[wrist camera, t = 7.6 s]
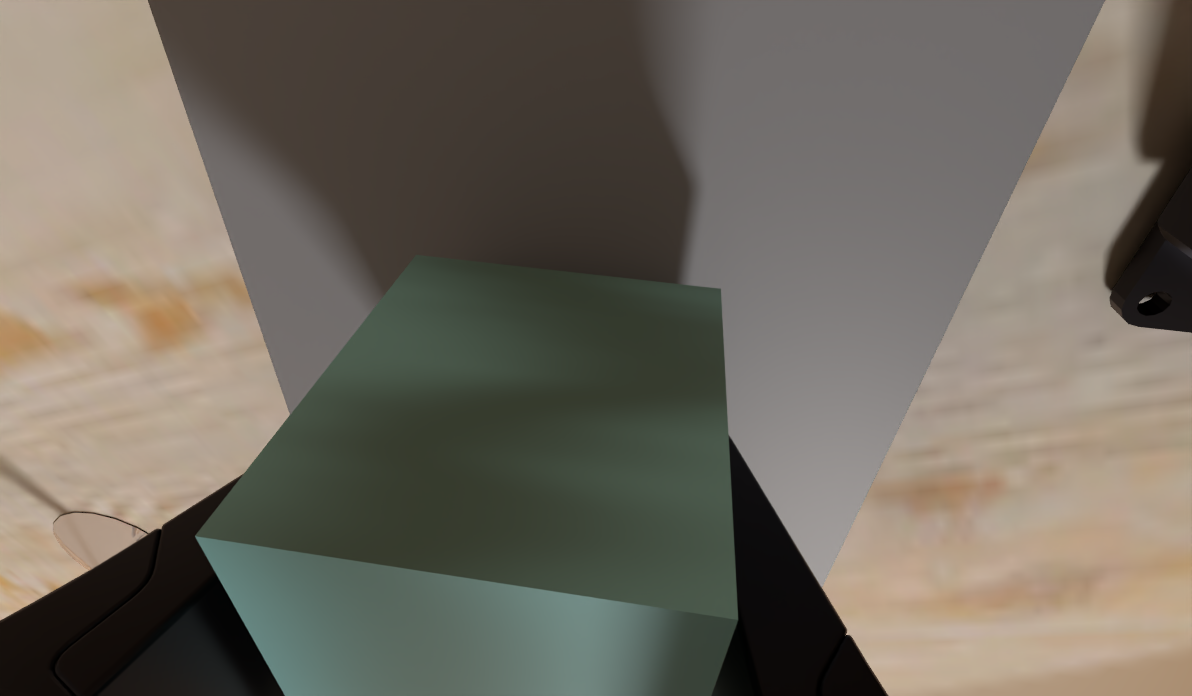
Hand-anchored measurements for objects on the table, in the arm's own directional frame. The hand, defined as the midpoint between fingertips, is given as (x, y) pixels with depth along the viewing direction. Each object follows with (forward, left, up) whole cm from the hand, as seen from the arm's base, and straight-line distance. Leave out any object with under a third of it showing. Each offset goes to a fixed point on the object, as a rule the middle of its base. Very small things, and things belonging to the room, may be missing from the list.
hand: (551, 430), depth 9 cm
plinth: (0, 0, -4) cm, 4 cm away
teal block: (0, 0, -1) cm, 1 cm away
